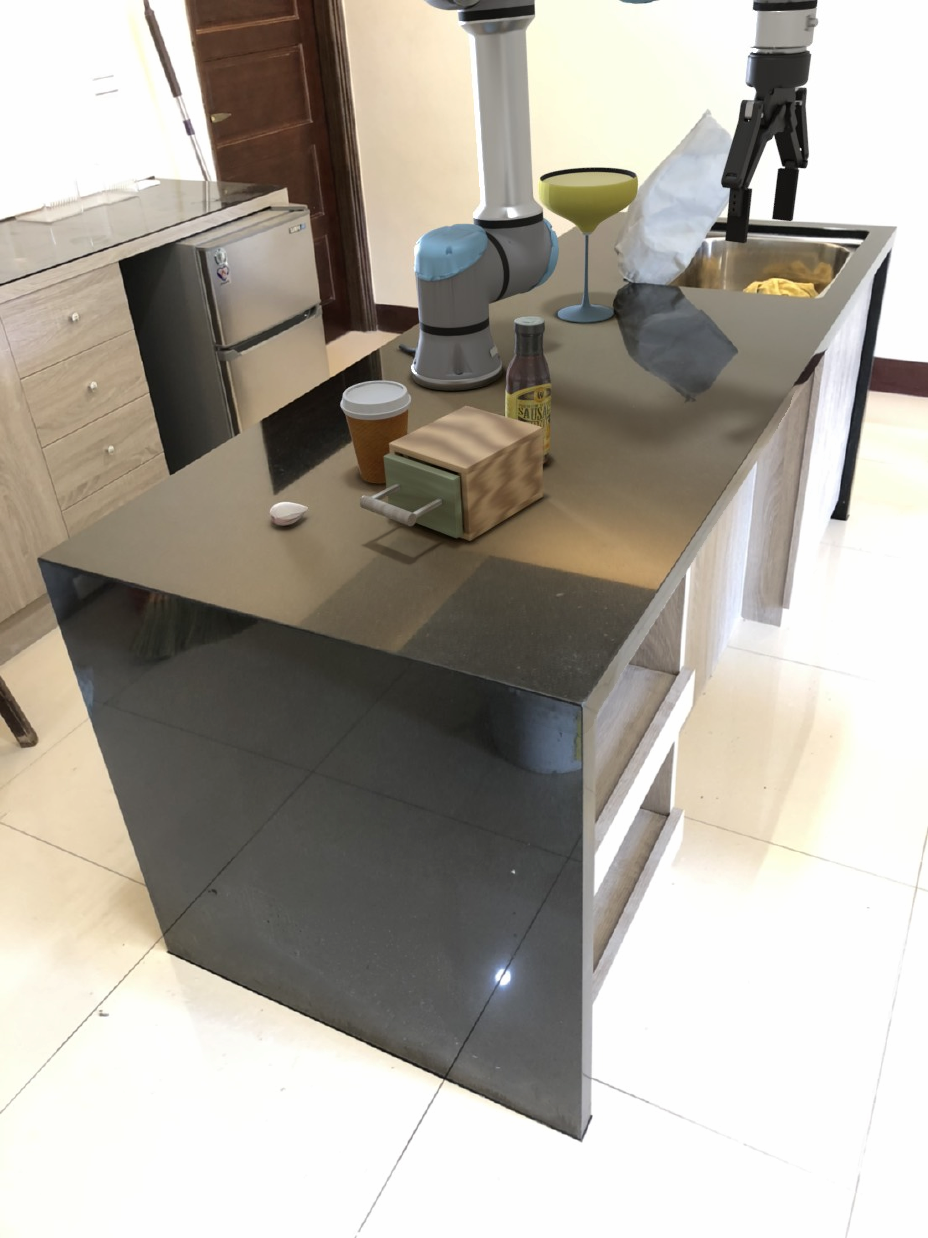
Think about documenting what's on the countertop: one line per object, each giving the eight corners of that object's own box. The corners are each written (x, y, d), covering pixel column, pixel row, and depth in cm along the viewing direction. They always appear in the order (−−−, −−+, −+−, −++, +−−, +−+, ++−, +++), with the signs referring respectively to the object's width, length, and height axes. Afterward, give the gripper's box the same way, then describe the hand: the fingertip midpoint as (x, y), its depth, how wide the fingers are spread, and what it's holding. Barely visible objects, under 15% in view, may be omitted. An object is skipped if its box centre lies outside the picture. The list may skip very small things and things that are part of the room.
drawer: (421, 560, 119) (416, 500, 114) (353, 532, 125) (346, 474, 121) (525, 497, 131) (524, 440, 126) (458, 474, 137) (455, 420, 133)
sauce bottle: (519, 474, 138) (516, 331, 127) (497, 458, 143) (492, 319, 132) (560, 463, 141) (560, 321, 130) (536, 447, 146) (535, 310, 134)
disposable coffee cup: (391, 494, 135) (383, 410, 129) (335, 480, 140) (324, 398, 133) (430, 467, 142) (424, 385, 135) (376, 454, 146) (367, 375, 140)
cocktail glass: (569, 295, 207) (570, 164, 193) (648, 307, 197) (655, 170, 183) (521, 320, 195) (518, 182, 181) (603, 334, 185) (607, 189, 172)
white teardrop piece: (268, 518, 131) (265, 501, 130) (305, 509, 133) (302, 492, 132) (276, 532, 128) (273, 514, 127) (314, 523, 130) (311, 506, 128)
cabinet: (470, 541, 124) (465, 468, 118) (395, 512, 131) (388, 443, 125) (543, 496, 133) (542, 426, 127) (469, 472, 140) (466, 405, 134)
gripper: (761, 61, 114) (741, 255, 125) (850, 40, 129) (825, 214, 141) (702, 60, 118) (688, 247, 130) (795, 39, 133) (775, 208, 145)
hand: (759, 230), depth 135 cm, fingers open, 13 cm apart
